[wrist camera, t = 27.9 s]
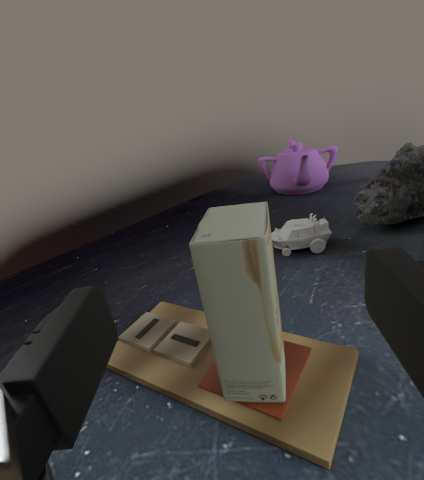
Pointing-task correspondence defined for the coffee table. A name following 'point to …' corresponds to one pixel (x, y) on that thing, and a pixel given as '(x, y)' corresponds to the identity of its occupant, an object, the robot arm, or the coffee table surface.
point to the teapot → (298, 169)
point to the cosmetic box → (241, 301)
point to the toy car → (302, 235)
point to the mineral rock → (394, 190)
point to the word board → (235, 412)
